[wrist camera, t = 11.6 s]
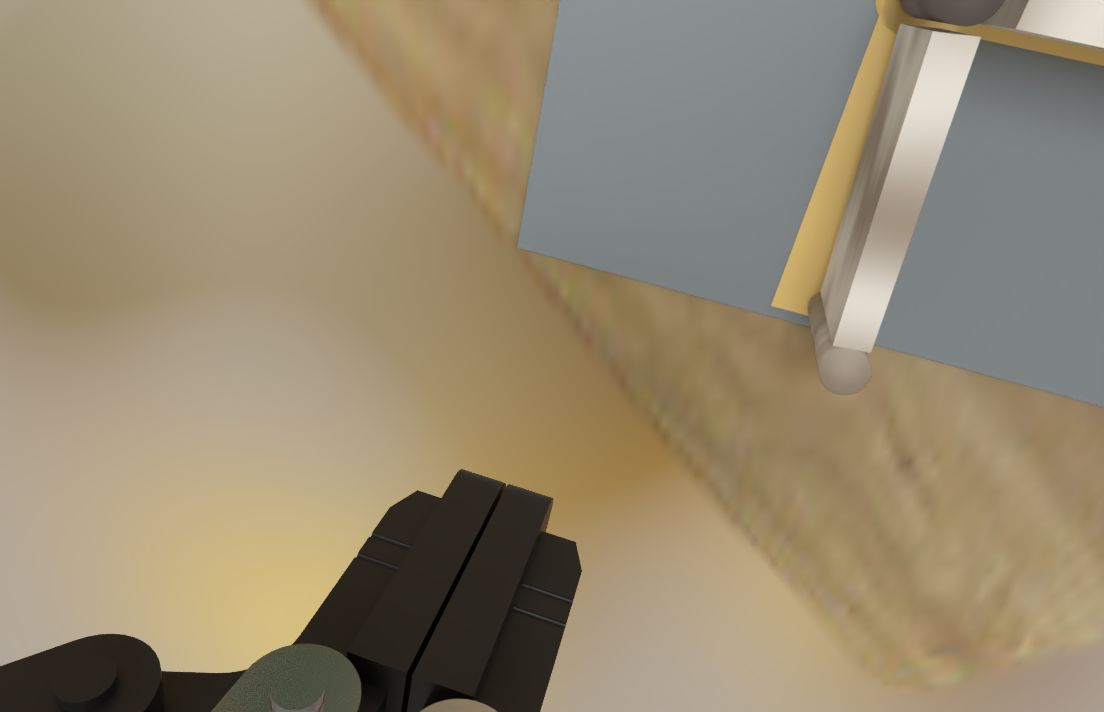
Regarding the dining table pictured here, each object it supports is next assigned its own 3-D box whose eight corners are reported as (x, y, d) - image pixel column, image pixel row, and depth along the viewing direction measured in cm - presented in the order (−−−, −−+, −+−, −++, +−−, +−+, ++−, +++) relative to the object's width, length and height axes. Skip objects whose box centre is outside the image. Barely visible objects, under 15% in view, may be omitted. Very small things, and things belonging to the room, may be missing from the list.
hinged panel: (908, -40, 23) (950, -48, 18) (962, -35, 23) (1019, -41, 18) (802, 322, 29) (813, 389, 24) (844, 330, 29) (863, 399, 24)
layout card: (1483, -127, 20) (1496, -130, 20) (1116, 407, 29) (1120, 412, 28) (611, -280, 23) (609, -284, 23) (518, 245, 32) (516, 248, 31)
